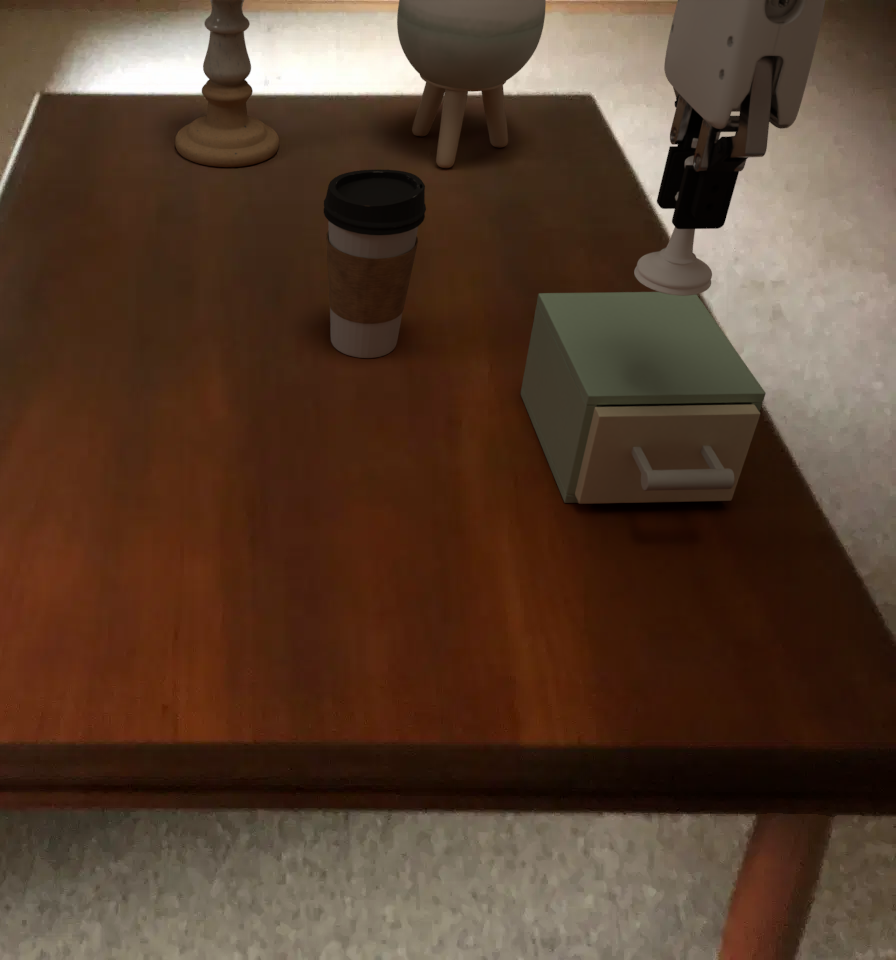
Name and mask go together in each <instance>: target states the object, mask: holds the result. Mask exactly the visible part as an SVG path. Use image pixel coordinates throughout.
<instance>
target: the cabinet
mask: <svg viewBox="0 0 896 960" xmlns="http://www.w3.org/2000/svg"><path fill="white" fill-rule="evenodd" d="M533 316H534V317H533V322H532V328H531V333H530V339H529V344H528V350H527V355H526V361H525V365H524V366H525V367H524V370H523V371H524V372H523V377H522V384H521V389H520V397H521V399H522V401H523V404H524V407H525V409H526V411H527V414H528V417H529V419H530V421H531V424H532V426H533V428H534V431H535V434H536V437H537V439H538V441H539V444H540V446H541V448H542V451H543V454H544V456H545V459H546V461H547V463H548V466H549V468H550V471H551V473H552V476H553V479H554V480H555V483H556V484H557V488H558V490H559V493H560V496H561V498H562V500H563V502H564V504H579V503H578V500H577V498H576V496H575V491H576V487H577V482H578V478H579V473H580V469H581V465H582V460H583V456H584V452H585V447H586V443H587V439H588V434H589V430H590V426H591V421H592V417H593V413H594V408H595V407H597V405H616V404H677V403H734V405H744V404H754V405H755V406H756V408H757V409H758V411H759V412H760V413H761V409H762V405H763V403H764V400H765V397H766V395H767V394H766V391H765V390H764V388H763V387H762V386H761V384H760V382H759V381H758V380H757V378H756V377H755V376H754V374H753V372H752V371H751V370H750V368H749V367H748V365H747V364H746V362H744V360H743V358H742V357H741V356H740V354H739V352H738V351H737V350H736V348H735V347H734V345H733V344H732V343H731V340H729V339H728V337H727V335H726V334H725V333H724V331H723V330H722V329H721V327H720V326H719V324H718V323H717V322H716V320H715V318H714V317H713V316H712V314H711V313H710V311H709V310H708V308H707V307H706V306H705V304H704V303H703V301H702V299H701V298H700V297H699V295H698V294H695V295H687V296H681V295H671V294H665V293H661V292H658V291H633V292H632V291H625V292H624V291H622V292H620V291H618V292H616V291H615V292H611V291H609V292H539V293H538V294H537V300H536V306H535V312H534V315H533Z"/></svg>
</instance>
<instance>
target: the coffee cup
mask: <svg viewBox="0 0 896 960" xmlns="http://www.w3.org/2000/svg"><path fill="white" fill-rule="evenodd" d="M425 190H426V185H425V182H424V181H423V180H422V179H421V178H420V177H419V176H417V175H416V174H414V173H411V172H408V171H404V170H396V169H362V170H354V171H348V172H345V173H341V174H338V175H337V176H335V177H333V178H332V179H331V180H330V181H329V183H328V187H327V191H326V194H325V198H324V200H323V215H324V217H325V219H326V220H327V222H328V230H327V232H326V257H327V258H326V260H327V280H328V281H327V282H328V300H329V302H328V303H329V322H330V323H329V324H330V325H329V327H330V342H331V345H332V346H333V347H334V349H336V350H337V351H338V352H339V353H342V354H344V355H347V356H348V357H349V356H350V357H353V358H359V359H374V358H380V357H383V356H386V355H388V354H390V353H391V352H393V351H394V349H395V348H396V346H397V344H398V339H399V333H400V328H401V323H402V317H403V312H404V309H405V304H406V300H407V295H408V291H409V286H410V281H411V276H412V273H413V268H414V266H413V265H414V263H415V258H416V254H417V248H418V243H419V238H418V230H419V226H421V225H422V223H423V222H424V220H425V218H426V211H427V206H426V203H425V202H426V201H425V200H426V199H425V198H426V197H425V196H426V195H425Z"/></svg>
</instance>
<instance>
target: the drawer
mask: <svg viewBox="0 0 896 960" xmlns="http://www.w3.org/2000/svg"><path fill="white" fill-rule="evenodd" d="M760 417H761V411H760V412H759V411H758V409H757V408H756V406H755V405H754V404H744V405H734V403H677V404H616V405H597V407H595V408H594V413H593V417H592V421H591V426H590V430H589V434H588V439H587V443H586V447H585V452H584V456H583V460H582V465H581V469H580V473H579V478H578V482H577V487H576V491H575V496H576V498H577V500H578V503H577V504H580V505H583V504H584V505H586V504H589V505H590V504H591V505H593V504H634V503H635V504H637V503H640V504H641V503H682V502H683V503H684V502H690V503H691V502H730V501H732V500H733V497H734V494H735V492H736V489H737V485H738V482H739V479H740V476H741V473H742V470H743V467H744V465H745V461H746V459H747V456H748V453H749V449H750V446H751V442H752V441H753V437H754V434H755V431H756V429H757V426H758V423H759V420H760Z"/></svg>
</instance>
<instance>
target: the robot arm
mask: <svg viewBox="0 0 896 960" xmlns="http://www.w3.org/2000/svg"><path fill="white" fill-rule="evenodd" d="M825 4H826V0H677V1H676V6H675V10H674V14H673V17H672V22H671V26H670V31H669V36H668V40H667V45H666V50H665V57H664V65H663V66H664V68H663V70H664V74H665V78H666V79H667V81H668V83H669V84H670V85H671V86H672V88H673V92H674V96H675V100H674V108H675V111H674V115H673V119H672V122H671V127H670V132H669V142H670V144H671V146H669V147H668V150H667V155H666V160H665V164H664V168H663V173H662V177H661V182H660V186H659V190H658V193H657V198H656V203H657V205H658V206H659V208H660V209H663V210H673V215H672V218H671V224H672V225H673V226H674V228H675V227H676V228H677V229H695V230H716V229H721V228H722V227H723V226H724V225H725V223H726V220H727V215H728V212H729V210H730V209H729V208H730V206H731V203H732V202H731V201H732V198H733V194H734V191H735V187H736V185H737V180H738V176H739V174H740V172H742V171H744V169H745V166H746V163H747V159H749V158H763V157H764V156H765V155H766V153H767V149H768V141H769V128H770V124H771V125H773V126H774V127H775V128H777V129H780V130H781V129H783V130H784V129H789V128H790V127H791V126H792V125H793V124H794V123H795V121H796V119H797V117H798V114H799V111H800V108H801V105H802V101H803V97H804V94H805V91H806V87H807V83H808V79H809V76H810V71H811V67H812V63H813V59H814V55H815V50H816V47H817V42H818V38H819V33H820V29H821V25H822V21H823V20H822V19H823V16H824V10H825ZM733 112H736V113H737V112H738V113H739V115H732V113H733ZM721 133H734V135H731V136H721ZM720 136H721V137H720ZM693 138H696V139H698V142H697V146H696V148H691V146H692V141H693ZM715 141H717V142H715ZM674 145H675V146H674ZM676 145H677V146H676ZM690 156H694V159H693V165H686V166H685V160H686V159H687V158H688V157H690ZM677 192H679V194H678V198H677V201H676V200H675V196H676V195H677Z"/></svg>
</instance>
